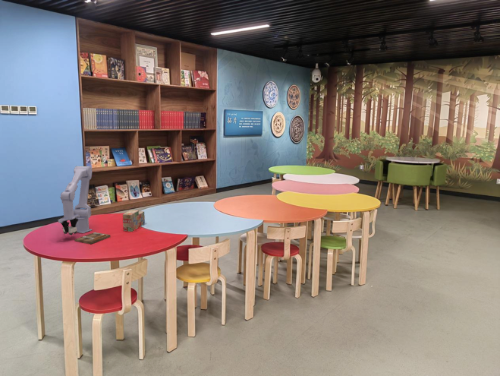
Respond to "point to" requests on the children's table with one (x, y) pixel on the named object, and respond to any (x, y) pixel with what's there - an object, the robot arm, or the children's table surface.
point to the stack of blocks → (133, 220)
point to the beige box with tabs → (71, 230)
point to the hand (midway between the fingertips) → (70, 231)
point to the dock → (92, 238)
